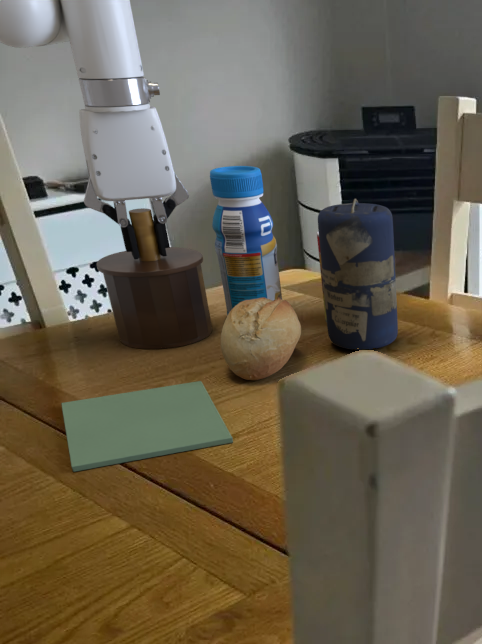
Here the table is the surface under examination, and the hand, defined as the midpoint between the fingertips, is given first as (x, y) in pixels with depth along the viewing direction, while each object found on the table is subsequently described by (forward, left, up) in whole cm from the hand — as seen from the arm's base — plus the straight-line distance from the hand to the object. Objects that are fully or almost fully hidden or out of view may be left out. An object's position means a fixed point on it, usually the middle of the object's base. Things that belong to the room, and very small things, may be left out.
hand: (149, 254), depth 111 cm
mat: (-7, -31, -11) cm, 34 cm away
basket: (0, 0, -11) cm, 11 cm away
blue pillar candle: (+24, -16, -11) cm, 31 cm away
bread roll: (+10, -18, -11) cm, 23 cm away
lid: (0, 0, -1) cm, 1 cm away
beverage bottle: (+13, 0, -11) cm, 17 cm away
